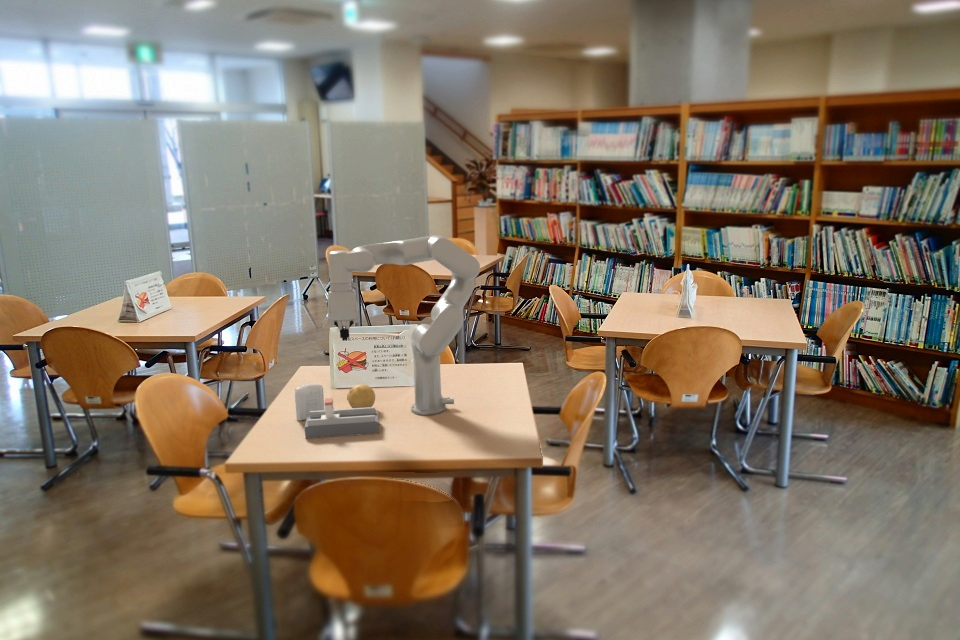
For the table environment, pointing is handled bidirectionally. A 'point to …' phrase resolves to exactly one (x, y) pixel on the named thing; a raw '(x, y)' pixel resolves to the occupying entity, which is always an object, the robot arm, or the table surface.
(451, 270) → the robot arm
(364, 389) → the stress ball
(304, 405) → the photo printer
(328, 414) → the knob
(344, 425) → the gray slider track
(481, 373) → the table surface
